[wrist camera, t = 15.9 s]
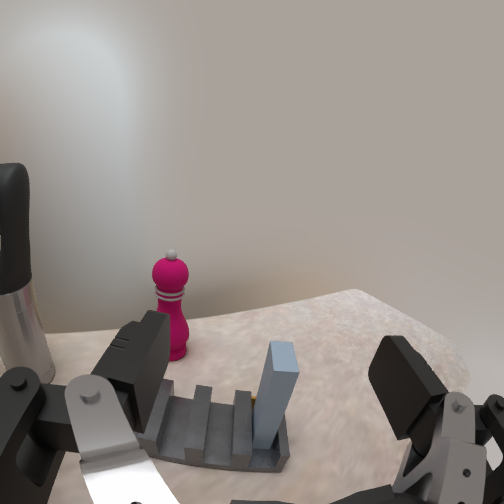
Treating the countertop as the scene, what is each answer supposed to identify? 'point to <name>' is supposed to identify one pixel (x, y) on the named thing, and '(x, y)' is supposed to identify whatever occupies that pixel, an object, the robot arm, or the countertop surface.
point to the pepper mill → (172, 299)
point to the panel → (273, 393)
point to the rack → (209, 432)
